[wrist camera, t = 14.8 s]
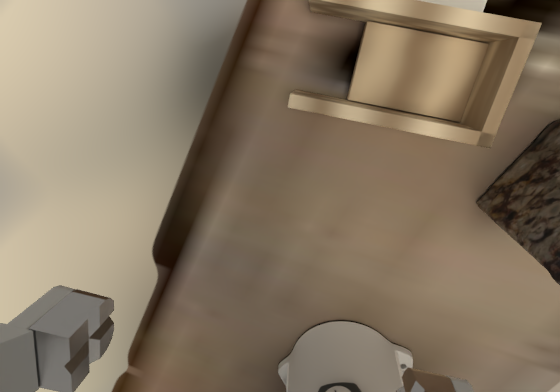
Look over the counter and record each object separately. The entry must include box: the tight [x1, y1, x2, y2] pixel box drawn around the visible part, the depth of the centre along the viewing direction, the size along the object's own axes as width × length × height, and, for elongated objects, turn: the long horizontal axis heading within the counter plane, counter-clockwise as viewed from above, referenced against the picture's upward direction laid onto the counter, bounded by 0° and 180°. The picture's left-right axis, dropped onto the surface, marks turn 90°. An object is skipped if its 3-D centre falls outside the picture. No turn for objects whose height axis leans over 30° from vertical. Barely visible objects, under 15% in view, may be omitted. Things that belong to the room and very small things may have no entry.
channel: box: [288, 0, 542, 148], centre depth 32 cm, size 18×10×7 cm, turn 80°
